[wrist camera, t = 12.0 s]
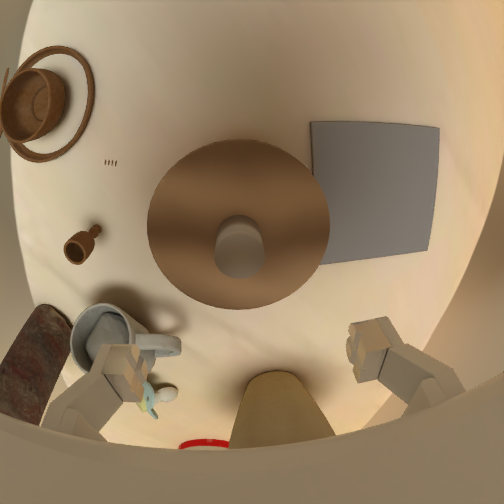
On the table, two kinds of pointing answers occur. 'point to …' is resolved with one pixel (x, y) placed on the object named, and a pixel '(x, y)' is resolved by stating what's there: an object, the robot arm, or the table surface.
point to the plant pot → (277, 413)
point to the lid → (238, 224)
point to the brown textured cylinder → (34, 365)
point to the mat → (376, 187)
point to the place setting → (44, 123)
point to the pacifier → (155, 398)
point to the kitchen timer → (204, 444)
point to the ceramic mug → (116, 336)
